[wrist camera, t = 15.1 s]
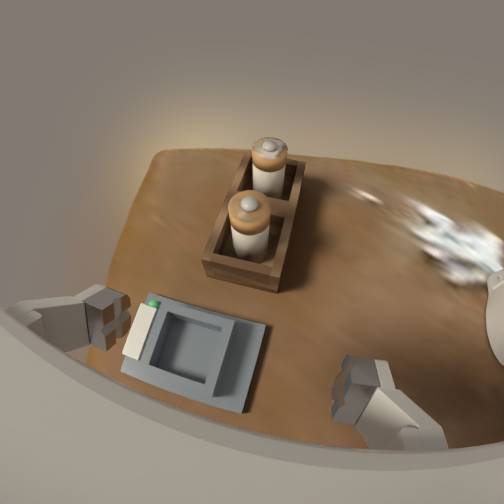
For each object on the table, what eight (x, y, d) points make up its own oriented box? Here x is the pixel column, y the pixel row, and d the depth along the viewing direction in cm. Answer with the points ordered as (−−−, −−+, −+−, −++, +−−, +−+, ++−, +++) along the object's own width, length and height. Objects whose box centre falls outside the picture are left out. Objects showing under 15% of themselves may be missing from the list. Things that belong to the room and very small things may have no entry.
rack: (246, 173, 43) (245, 151, 39) (301, 184, 41) (305, 162, 37) (207, 276, 34) (200, 258, 30) (276, 293, 33) (279, 277, 29)
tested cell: (260, 231, 36) (261, 182, 28) (273, 259, 34) (278, 212, 26) (229, 241, 35) (222, 193, 28) (240, 270, 34) (235, 225, 26)
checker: (152, 295, 33) (142, 284, 30) (265, 327, 31) (266, 318, 28) (123, 372, 28) (110, 367, 25) (241, 413, 26) (239, 415, 23)
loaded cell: (275, 181, 40) (279, 131, 33) (287, 202, 38) (293, 151, 31) (248, 188, 40) (246, 138, 32) (259, 210, 38) (259, 159, 30)
